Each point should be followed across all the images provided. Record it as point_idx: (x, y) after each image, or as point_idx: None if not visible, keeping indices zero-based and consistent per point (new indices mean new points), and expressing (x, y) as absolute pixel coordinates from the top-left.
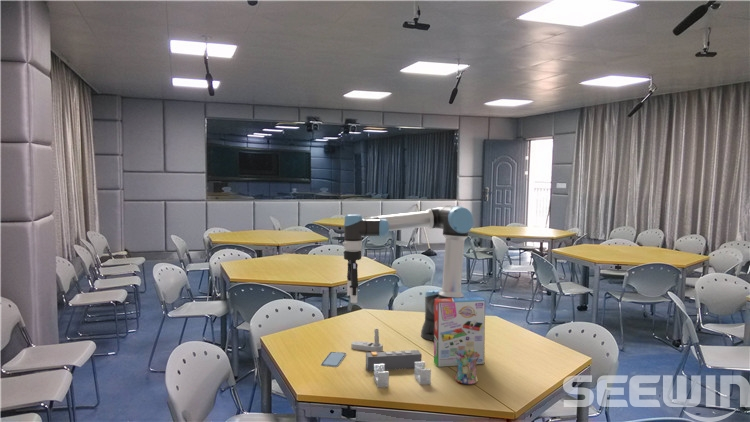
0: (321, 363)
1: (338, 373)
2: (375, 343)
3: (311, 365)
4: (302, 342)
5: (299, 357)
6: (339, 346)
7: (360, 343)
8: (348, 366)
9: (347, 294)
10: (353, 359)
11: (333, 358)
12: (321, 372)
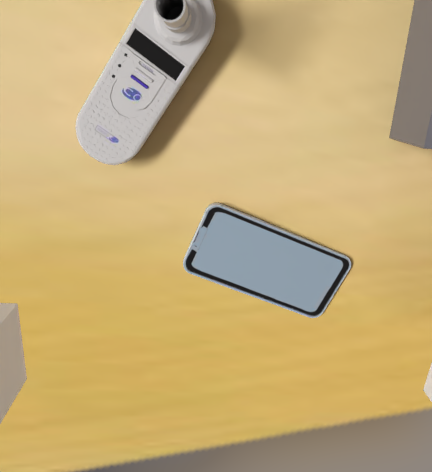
0: (306, 315)
1: (420, 263)
2: (187, 29)
3: (307, 348)
4: None
5: (211, 382)
6: (91, 216)
7: (124, 114)
8: (362, 214)
9: (17, 388)
10: (284, 178)
11: (264, 266)
12: (387, 320)
